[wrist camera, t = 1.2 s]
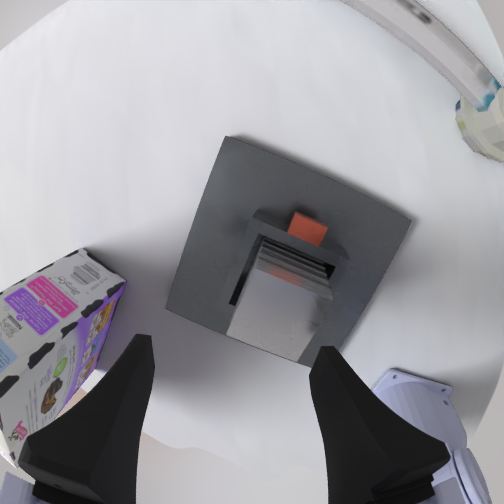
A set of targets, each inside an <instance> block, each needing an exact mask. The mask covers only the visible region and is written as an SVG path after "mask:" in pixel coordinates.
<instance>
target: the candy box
mask: <svg viewBox="0 0 504 504" xmlns="http://www.w3.org/2000/svg"><path fill="white" fill-rule="evenodd" d="M126 282H127V281H126V280H124V279H123V278H121V277H120V276H119V275H118V274H116V273H115V272H113V271H112V270H110V269H109V268H108V267H106V266H105V265H104V264H102V263H101V262H100V261H98V260H97V259H96V258H95V257H93V256H92V255H91V254H89V253H88V252H87V251H85V250H84V249H82V248H80V249H78V250H76V251H74V252H72V253H70V254H68V255H67V256H65V257H63V258H61V259H59V260H57V261H55V262H54V263H52V264H50V265H48V266H46V267H44V268H42V269H41V270H39V271H37V272H35V273H33V274H32V275H30V276H28V277H26V278H25V279H23V280H21V281H19V282H18V283H16V284H14V285H12V286H11V287H9V288H7V289H6V290H4V291H2V292H1V293H0V454H1V455H2V456H3V457H4V458H5V459H6V460H8V462H10V463H11V464H12V465H13V466H14V467H15V468H18V467H19V465H18V463H17V462H18V459H19V456H20V452H21V449H22V447H23V444H24V442H25V440H26V438H27V436H29V435H31V434H33V433H34V432H36V431H38V430H40V429H42V428H43V427H45V426H47V425H48V424H50V423H51V422H53V420H54V419H55V418H56V416H57V415H58V414H59V413H60V411H61V410H62V409H63V407H64V406H65V405H66V404H67V402H68V401H69V400H70V399H71V397H72V396H73V395H74V394H75V392H76V391H77V390H78V389H79V388H80V386H81V385H82V384H83V383H84V381H85V380H86V379H87V378H88V377H89V375H90V374H91V373H92V372H93V371H94V369H95V368H96V365H97V363H98V360H99V356H100V353H101V350H102V347H103V344H104V341H105V338H106V335H107V332H108V330H109V326H110V323H111V321H112V318H113V315H114V312H115V309H116V307H117V304H118V301H119V299H120V297H121V294H122V291H123V289H124V287H125V284H126Z"/></svg>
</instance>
